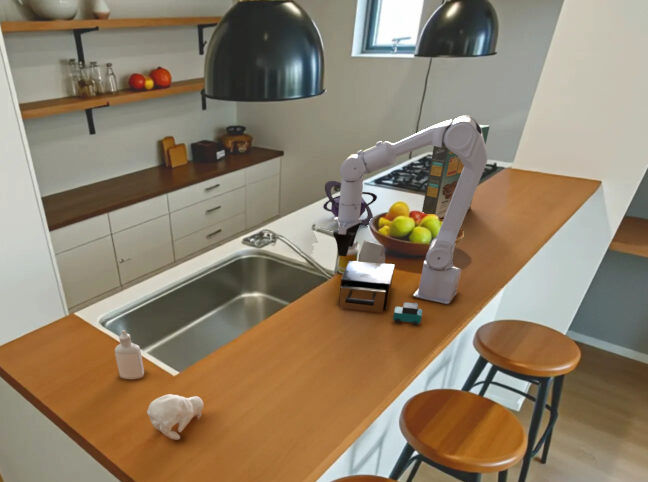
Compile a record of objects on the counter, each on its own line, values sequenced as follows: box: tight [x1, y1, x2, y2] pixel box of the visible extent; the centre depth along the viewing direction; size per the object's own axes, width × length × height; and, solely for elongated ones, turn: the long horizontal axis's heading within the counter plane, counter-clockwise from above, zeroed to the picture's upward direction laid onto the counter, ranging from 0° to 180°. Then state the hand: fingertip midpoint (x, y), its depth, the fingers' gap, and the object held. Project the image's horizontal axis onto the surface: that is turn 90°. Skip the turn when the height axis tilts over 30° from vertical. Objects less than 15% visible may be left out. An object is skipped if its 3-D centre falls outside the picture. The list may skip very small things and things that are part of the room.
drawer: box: [338, 282, 386, 313], centre depth 128 cm, size 17×11×6 cm, turn 157°
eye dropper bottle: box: [114, 329, 145, 380], centre depth 107 cm, size 4×6×12 cm
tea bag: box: [357, 240, 386, 264], centre depth 144 cm, size 4×7×10 cm, turn 38°
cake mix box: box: [421, 124, 491, 219], centre depth 182 cm, size 22×6×30 cm, turn 121°
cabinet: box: [338, 260, 396, 311], centre depth 133 cm, size 13×12×8 cm
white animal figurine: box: [146, 393, 205, 441], centre depth 92 cm, size 6×8×12 cm
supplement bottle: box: [337, 239, 359, 275], centre depth 147 cm, size 5×5×10 cm
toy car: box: [392, 301, 423, 327], centre depth 121 cm, size 6×4×5 cm, turn 67°
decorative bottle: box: [322, 153, 378, 226], centre depth 181 cm, size 22×21×25 cm
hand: (345, 250), depth 137 cm, fingers open, 7 cm apart
